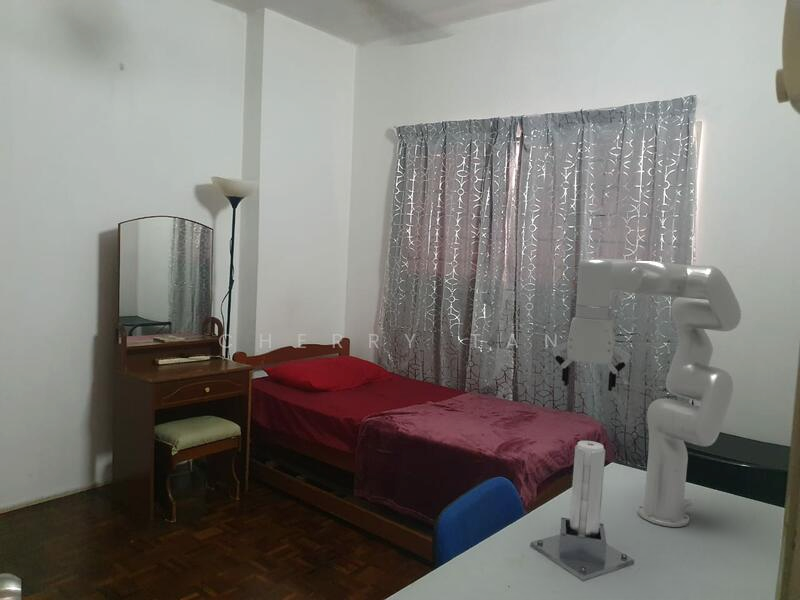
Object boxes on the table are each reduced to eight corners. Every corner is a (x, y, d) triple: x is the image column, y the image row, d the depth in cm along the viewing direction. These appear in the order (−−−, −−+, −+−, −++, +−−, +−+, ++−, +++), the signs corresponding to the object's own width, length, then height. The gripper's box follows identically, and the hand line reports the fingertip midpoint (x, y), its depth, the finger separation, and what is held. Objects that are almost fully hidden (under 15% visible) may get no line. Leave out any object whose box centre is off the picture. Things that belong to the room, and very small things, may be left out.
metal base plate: (579, 532, 144) (580, 509, 144) (633, 563, 131) (635, 537, 130) (530, 546, 136) (532, 521, 136) (583, 580, 123) (585, 553, 122)
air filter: (603, 553, 133) (612, 445, 131) (584, 560, 129) (593, 450, 127) (580, 540, 138) (588, 437, 136) (561, 547, 135) (569, 441, 133)
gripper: (634, 314, 133) (628, 388, 135) (556, 309, 140) (552, 379, 142) (632, 317, 127) (627, 395, 128) (551, 311, 133) (547, 385, 135)
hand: (588, 387), depth 135 cm, fingers open, 9 cm apart
